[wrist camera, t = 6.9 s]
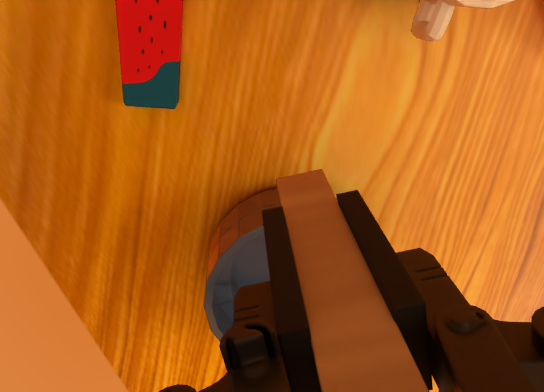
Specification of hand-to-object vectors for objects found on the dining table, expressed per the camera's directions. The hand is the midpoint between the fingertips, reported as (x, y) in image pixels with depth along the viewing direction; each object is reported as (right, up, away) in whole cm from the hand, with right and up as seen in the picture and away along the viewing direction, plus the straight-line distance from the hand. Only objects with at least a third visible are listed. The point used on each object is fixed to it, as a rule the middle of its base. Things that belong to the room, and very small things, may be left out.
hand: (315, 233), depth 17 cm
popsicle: (-10, +15, +16) cm, 25 cm away
